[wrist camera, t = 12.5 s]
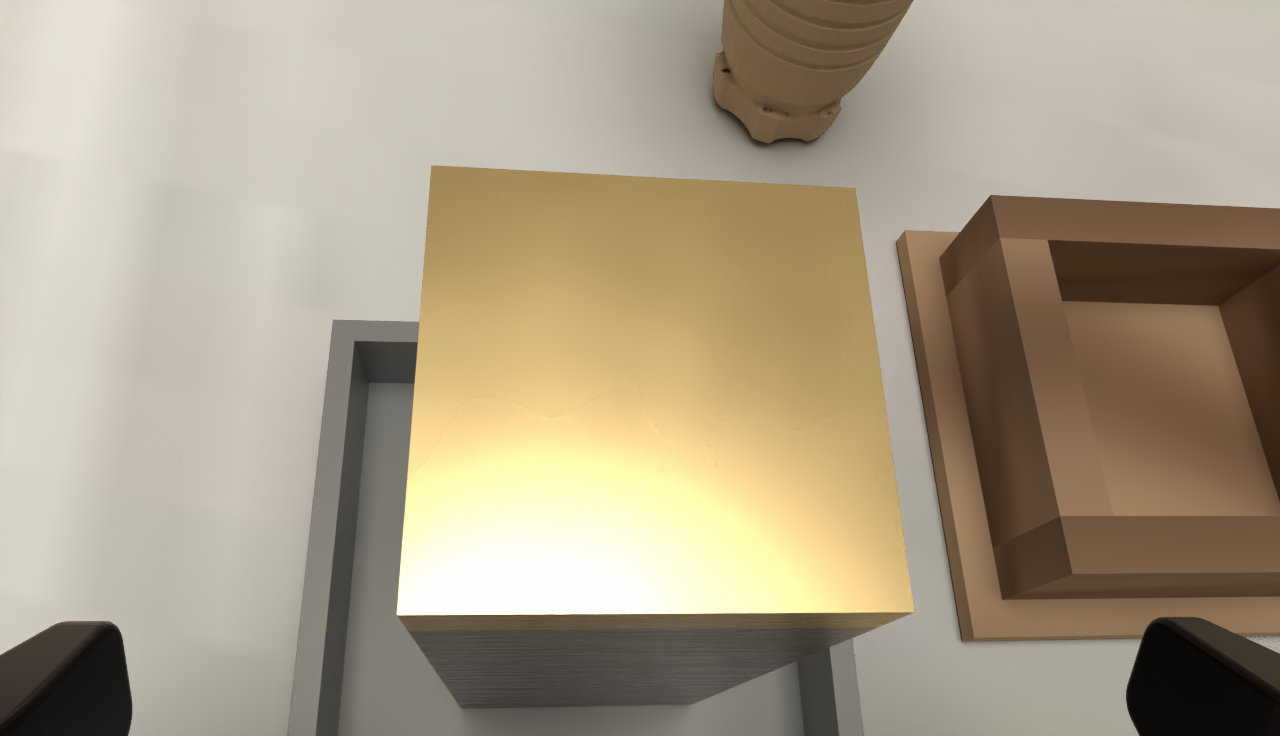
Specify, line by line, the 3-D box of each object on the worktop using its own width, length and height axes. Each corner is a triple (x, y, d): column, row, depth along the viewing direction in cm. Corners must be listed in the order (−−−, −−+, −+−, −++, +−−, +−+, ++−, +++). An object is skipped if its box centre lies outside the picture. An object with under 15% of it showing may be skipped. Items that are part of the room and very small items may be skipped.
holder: (1375, 633, 19) (1517, 610, 17) (962, 640, 18) (1042, 616, 15) (1247, 255, 23) (1347, 185, 20) (896, 241, 22) (951, 164, 19)
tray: (827, 846, 16) (878, 857, 14) (306, 871, 15) (270, 887, 13) (780, 383, 20) (815, 332, 18) (354, 375, 19) (333, 319, 16)
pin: (692, 704, 16) (914, 613, 7) (461, 708, 16) (397, 614, 7) (682, 485, 18) (855, 187, 9) (472, 482, 18) (432, 165, 8)
